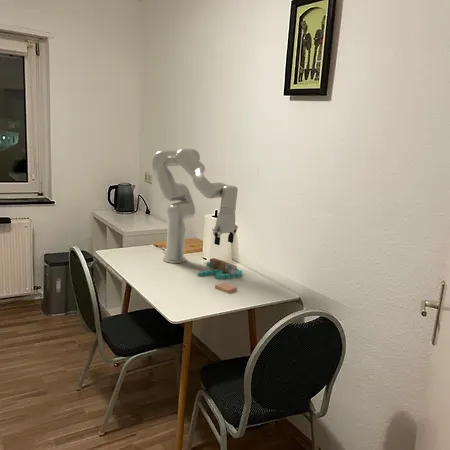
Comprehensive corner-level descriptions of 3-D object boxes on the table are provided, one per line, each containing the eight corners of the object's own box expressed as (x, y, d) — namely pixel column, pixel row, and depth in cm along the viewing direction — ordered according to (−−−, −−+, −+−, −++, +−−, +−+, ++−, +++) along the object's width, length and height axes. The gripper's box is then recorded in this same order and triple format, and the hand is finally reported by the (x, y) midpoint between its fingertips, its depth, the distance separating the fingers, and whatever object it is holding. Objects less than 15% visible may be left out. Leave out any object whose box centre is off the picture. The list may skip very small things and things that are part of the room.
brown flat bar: (209, 266, 236) (210, 259, 236) (213, 265, 239) (214, 258, 238) (232, 274, 226) (232, 266, 225) (236, 273, 228) (236, 265, 227)
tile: (215, 284, 209) (227, 290, 204) (224, 282, 214) (236, 287, 208) (214, 289, 210) (227, 294, 204) (223, 286, 214) (236, 291, 209)
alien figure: (197, 276, 225) (237, 282, 221) (198, 272, 225) (237, 278, 221) (207, 266, 244) (243, 271, 241) (207, 262, 244) (244, 267, 240)
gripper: (234, 207, 235) (230, 239, 239) (209, 209, 222) (206, 243, 226) (244, 210, 230) (240, 243, 234) (220, 213, 217) (216, 247, 221)
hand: (223, 243), depth 230 cm, fingers open, 9 cm apart
